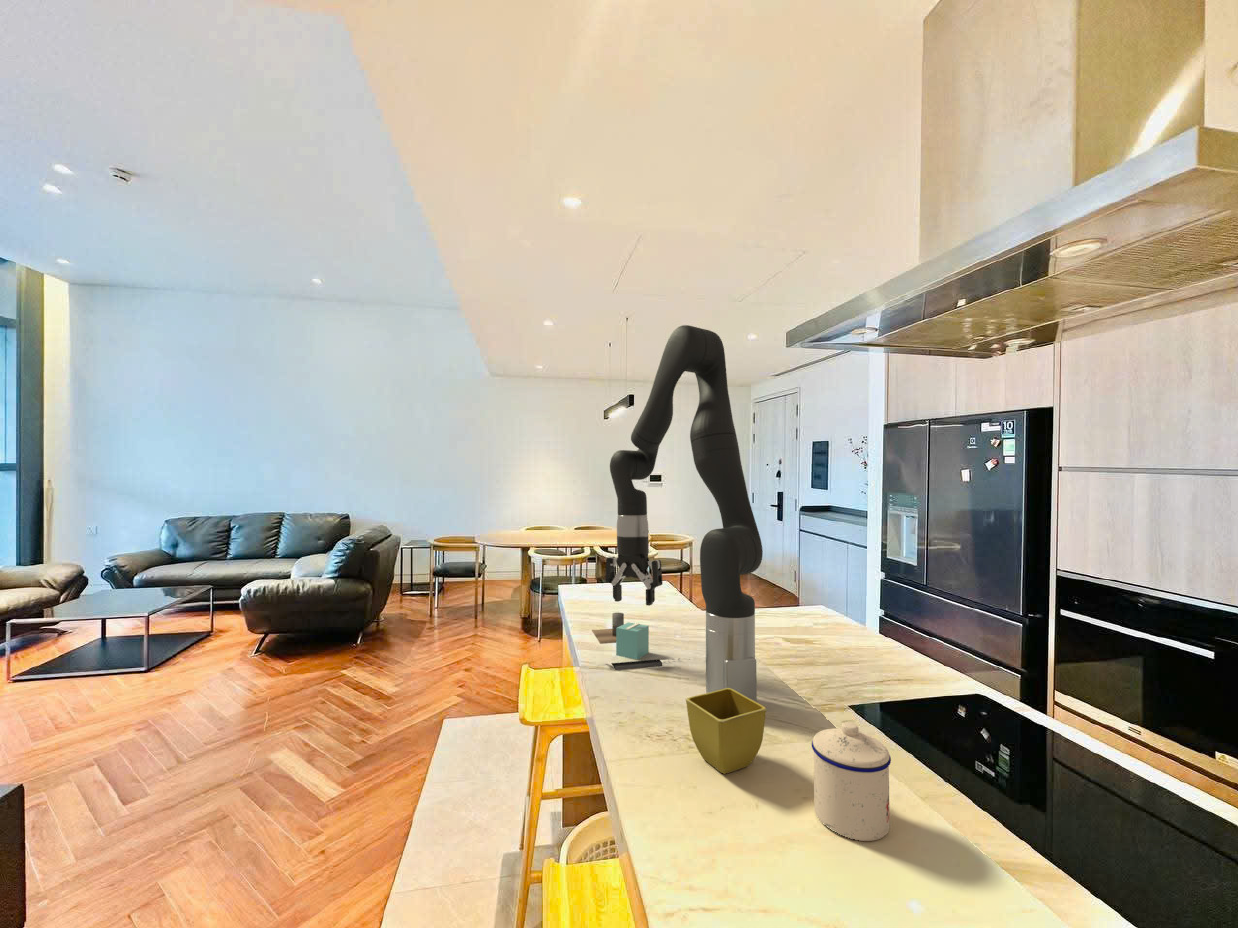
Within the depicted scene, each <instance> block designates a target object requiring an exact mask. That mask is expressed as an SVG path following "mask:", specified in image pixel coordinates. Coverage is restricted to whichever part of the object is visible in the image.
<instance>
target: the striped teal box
mask: <svg viewBox="0 0 1238 928" xmlns="http://www.w3.org/2000/svg"><path fill="white" fill-rule="evenodd" d="M649 627H650V626H649V625H647V624H640V623H638V622H636V623H635V622H626V623H624V625H622V626H619V627H617V628H616V643H615V644H616V645H615V654H616V655H615V656H619V657H623V658H627V659H632V660H635V661H632V662H639V661H640V660H639V659H641V658H642V657H644V656H646V655H647V654H649V651H650V648H649V646H650V644H649V641H650V639H649V637H650V636H649V634H650V633H649V632H650V631H649V630H650V629H649Z"/></svg>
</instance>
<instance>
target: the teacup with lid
mask: <svg viewBox="0 0 1238 928" xmlns="http://www.w3.org/2000/svg"><path fill="white" fill-rule="evenodd" d="M811 748H812V750H813V799H814V802H813V807H814V813H815V815H816V817H817V819H818V818H819V819H820V820H819V819H818V820H819V822H820V821H821V822H822V823H824V825H826V826H828V827H829V828H831V829H832V830H834V831H836V832H837V833H838V834H837V833H836V834H837V835H839V834H841V835H843V836H845V837H844V838H846V837H848V838H847V839H849V838H850V840H853V839H855V841H858V840H859V841H861V842H871V841H872V842H873V841H878V840H880V839H883V838H884V837H885V836H887V834H888V833H889V831H890V827H891V826H890V825H891V823H890V777H889V776H890V765H891V762H892V759H891V755H890V752H889V750H888V749H887V747H886V746H885V745H884V743H882V742H881V741H880V740H878V739H877V738H875V737H873V736H871V735H869V734H866V733H865V732H862V731H860V730H859V727H858V725H857V724H856V723H854V722H850V721H845V722H842V724H841V726H840V727H837V728H827V729H826V728H825V729H822V730H820V731H818V732H817V733H815V735H814V737H813V738H812V741H811ZM821 822H820V823H821ZM822 823H821V824H822ZM824 825H823V826H824ZM826 826H825V827H826ZM841 835H840V836H841ZM843 836H842V837H843Z"/></svg>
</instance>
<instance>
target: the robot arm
mask: <svg viewBox="0 0 1238 928" xmlns="http://www.w3.org/2000/svg"><path fill="white" fill-rule="evenodd" d="M685 372H687V373H693V374H694V375H695V377H696V381H697V385H698V386H697V387H698V395H699V397H698V399H699V400H698V405H697V409H696V412H695V414H694V417H693V420H692V423H691V426H690V433H689V439H690V446H691V451H692V456H693V457H692V458H693V462H694V465H695V468H696V471H697V473H698V474H699V477H700V479H702V481H703V483H704V484H705V486H706V487H707V489H708V490H709V492H710V493H711V495H712V496H713V498H714V500H715V502H716V504H717V507H718V510H719V513H720V517H721V524H722V528H714V529H712V530H709V531H708V532H707V533H706V534H705V535H704V536H703V538H702V540H701V542H700V543H701V544H700V548H699V549H700V550H699V565H700V567H699V568H700V586H701V587H700V588H701V594H702V597H703V600H704V602H705V694H706V693H710V692H713V691H717V690H721V689H725V688H731V689H733V690H735V691H737V692H739V693H740V694H742V695H744V696H746V697H748V698H749V699H751V700H753V701H755V702H757V703H758V701H757V690H758V689H757V688H758V687H757V684H758V683H757V659H756V603H755V599H754V598H753V597H752V596H751V595H749V594H747V593H744V592H743V591H742V588H741V586H742V585H741V575H742V576H743V575H749V574H752V573H754V572H755V571H757V569H759V568H760V566H761V563H762V560H763V545H762V540H761V536H760V532H759V529H758V526H757V522H756V519H755V515H754V512H753V509H752V506H751V502H750V498H749V494H748V489H747V484H746V479H745V475H744V471H743V465H742V460H741V453H740V452H741V451H740V447H739V442H738V438H737V436H738V435H737V433H736V428H735V424H734V419H733V413H732V405H731V400H730V395H729V388H728V376H727V364H726V353H725V347H724V343H723V341H722V339H721V337H720V335H718V334H717V333H716V332H714V331H711V330H710V329H705V328H700V327H697V326H693V325H688V324H687V325H686V324H684V325H680V326H678V327H677V328H675V329H674V330H673V332H672V333H671V334H670V336H669V338H668V339H667V341H666V344H665V347H664V349H663V352H662V355H661V359H660V361H659V365H658V369H657V371H656V374H655V378H654V381H653V383H652V386H651V390H650V394H649V396H648V399H647V401H646V403H645V406H644V408H643V410H642V413H641V414H640V416H639V418H638V419H637V422H636V424H635V426H634V428H633V430H632V432H631V435H630V440H631V441H630V442H631V443H632V444H633V445H634V447H636V448H637V450H627V449H622V450H621V449H620V450H617V451H615V452H614V453H613V455H612V456H611V458H610V462H609V471H610V476H611V479H612V482H613V483H612V484H613V486H614V491H615V494H616V498H617V499H616V500H617V520H616V552H617V557H615V556H609V557H607V558H605V579H604V580H605V583H609V584H611V585H612V598H613V600H614V602H618V603H619V602H621V601H622V599H623V595H622V594H623V592H622V589H623V587H622V586H623V585H622V584H621V583H622V582H623V581H624V579H625V578H633V579H638V578H639V580H640V581H641V582H642V583H643V585H644V586H645V605H646V606H649V607H650V606H652V605H653V604H654V603H655V599H656V597H655V596H656V595H655V594H656V591H655V589H656V588H658V587H661V586H663V573H662V570H663V569H662V561H661V560H660V559H655V560H650V558H649V553H650V552H649V551H650V550H649V549H650V548H649V547H650V546H649V521H648V500H647V499H648V498H647V494H646V492H645V491H644V490H642V489H637V488H636V487H635V486H634V483H633V480H637V481H639V480H640V481H641V480H642V481H643V480H646V479H647V478H649V476H651V474H652V473H653V472H654V470H655V469H654V468H655V466H656V461H657V457H658V452H659V449H660V445H661V443H662V441H663V439H664V438H665V435H666V434H667V432H668V431H669V429H670V426H671V424H672V421H673V417H674V393H675V388H676V386H677V384H678V381H679V380H680V378H682V375H683V374H684V373H685ZM616 567H618V568H619V569H618V571H617V572H616ZM649 567H650V570H651V573H650V571H649V570H648V569H649Z"/></svg>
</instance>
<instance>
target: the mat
mask: <svg viewBox="0 0 1238 928" xmlns="http://www.w3.org/2000/svg"><path fill="white" fill-rule="evenodd" d="M638 661H639V662H633V661H622V662H611V663H610V664H611V666H612V667H613V669H614V671H623V670H635V669H644V668H645V669H647V668H657V667H659V668H660V667H663V662H662V660H661V659H658V658H657V659H647V660H638Z"/></svg>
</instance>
